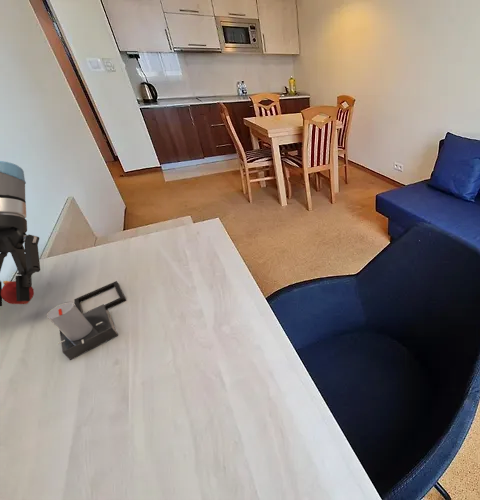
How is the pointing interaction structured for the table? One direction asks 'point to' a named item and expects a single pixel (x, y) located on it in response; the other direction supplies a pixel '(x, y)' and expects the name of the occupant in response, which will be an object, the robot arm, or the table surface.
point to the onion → (13, 293)
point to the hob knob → (70, 321)
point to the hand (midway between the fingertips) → (9, 303)
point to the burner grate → (98, 291)
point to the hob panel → (91, 333)
